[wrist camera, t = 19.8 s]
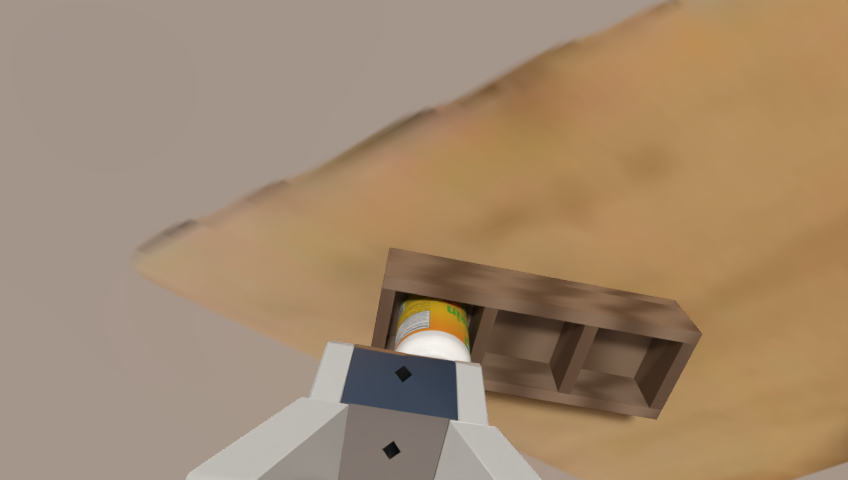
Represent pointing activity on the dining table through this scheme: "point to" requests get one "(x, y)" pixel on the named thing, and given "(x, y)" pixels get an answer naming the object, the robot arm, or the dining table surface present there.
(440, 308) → the supplement bottle
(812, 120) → the dining table surface
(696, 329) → the box
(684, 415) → the dining table surface
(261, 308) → the dining table surface
